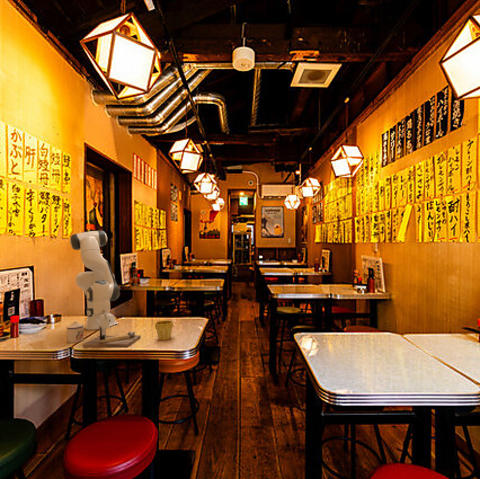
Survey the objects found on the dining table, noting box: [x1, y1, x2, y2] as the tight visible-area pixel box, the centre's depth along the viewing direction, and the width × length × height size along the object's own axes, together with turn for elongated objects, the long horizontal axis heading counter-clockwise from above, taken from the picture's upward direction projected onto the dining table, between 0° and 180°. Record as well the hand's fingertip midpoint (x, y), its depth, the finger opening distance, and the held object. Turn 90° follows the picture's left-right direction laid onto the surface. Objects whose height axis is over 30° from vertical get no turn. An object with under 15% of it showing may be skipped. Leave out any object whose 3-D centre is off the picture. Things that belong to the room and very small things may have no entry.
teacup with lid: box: [66, 320, 85, 344], centre depth 200 cm, size 12×9×12 cm
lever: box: [98, 327, 136, 343], centre depth 192 cm, size 20×4×9 cm, turn 126°
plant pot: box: [154, 319, 174, 341], centre depth 197 cm, size 10×10×10 cm
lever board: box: [82, 334, 141, 348], centre depth 192 cm, size 18×26×2 cm
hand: (102, 333), depth 188 cm, fingers open, 4 cm apart
